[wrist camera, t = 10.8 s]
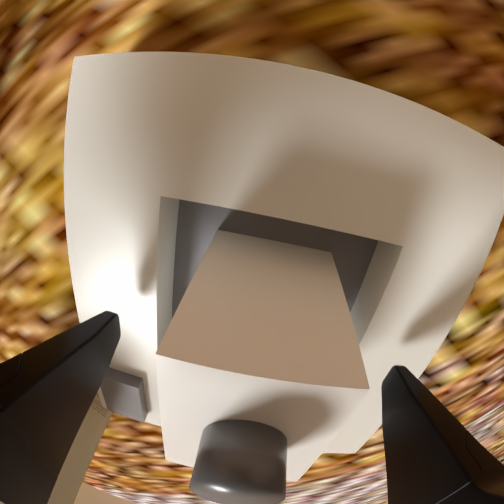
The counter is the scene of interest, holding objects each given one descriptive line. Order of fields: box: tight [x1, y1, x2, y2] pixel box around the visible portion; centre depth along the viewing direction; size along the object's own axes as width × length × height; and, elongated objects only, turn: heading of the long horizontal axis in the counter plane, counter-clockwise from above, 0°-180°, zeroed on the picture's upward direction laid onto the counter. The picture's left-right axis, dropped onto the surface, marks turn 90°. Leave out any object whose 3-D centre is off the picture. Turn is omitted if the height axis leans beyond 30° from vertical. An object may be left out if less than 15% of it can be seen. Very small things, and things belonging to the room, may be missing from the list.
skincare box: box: [47, 392, 113, 504], centre depth 12 cm, size 6×4×12 cm
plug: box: [155, 230, 370, 504], centre depth 8 cm, size 4×5×8 cm
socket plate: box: [64, 52, 504, 453], centre depth 11 cm, size 14×16×4 cm
